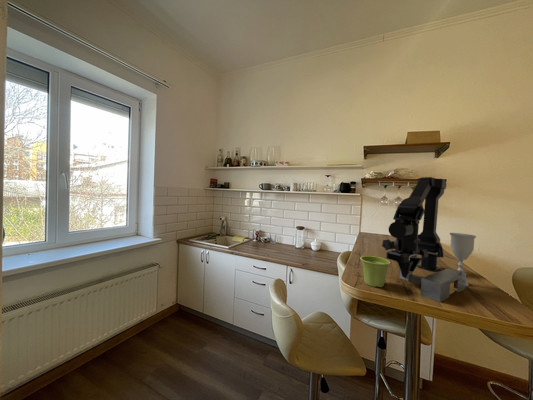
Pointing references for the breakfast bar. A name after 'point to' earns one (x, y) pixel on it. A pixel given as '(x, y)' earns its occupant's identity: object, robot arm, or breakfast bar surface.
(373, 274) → the plant pot
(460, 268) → the chalice
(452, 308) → the breakfast bar surface
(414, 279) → the plug
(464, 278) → the block
